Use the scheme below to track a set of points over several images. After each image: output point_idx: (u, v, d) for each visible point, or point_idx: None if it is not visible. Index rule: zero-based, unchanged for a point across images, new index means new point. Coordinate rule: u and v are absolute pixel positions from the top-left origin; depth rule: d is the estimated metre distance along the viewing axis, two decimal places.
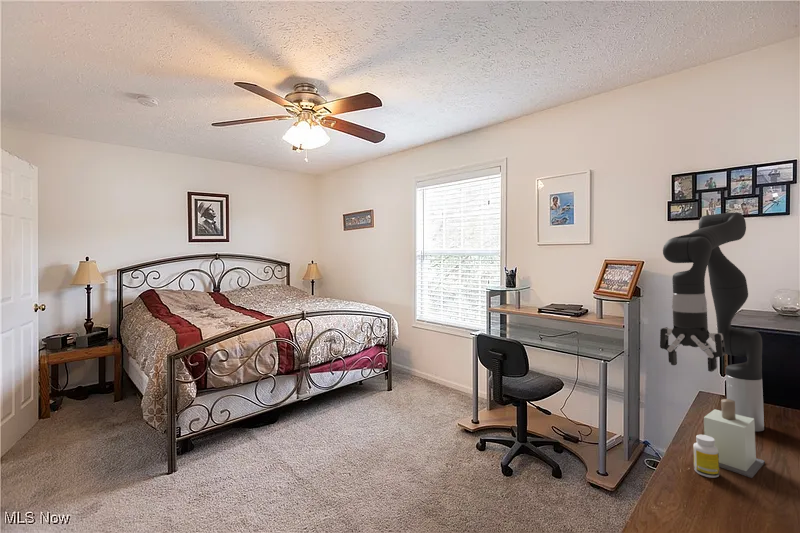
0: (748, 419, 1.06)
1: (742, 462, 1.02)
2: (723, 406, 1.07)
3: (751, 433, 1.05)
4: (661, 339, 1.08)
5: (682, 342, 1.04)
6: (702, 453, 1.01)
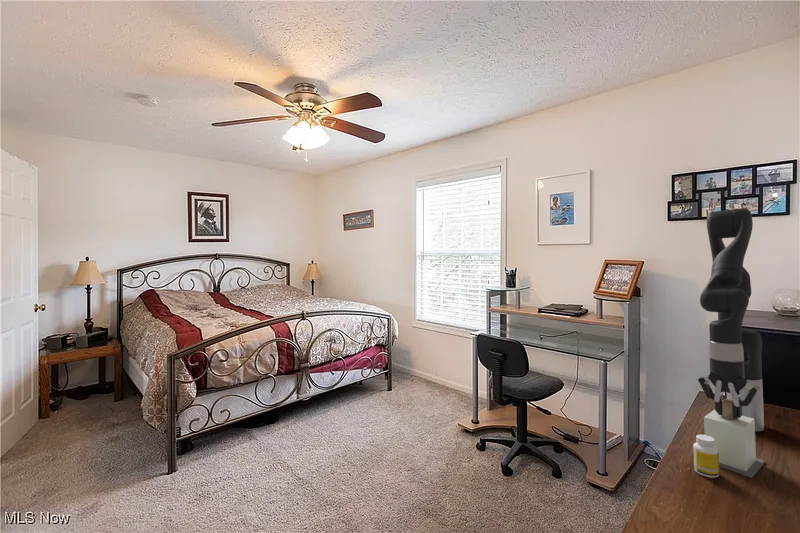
0: (748, 419, 1.06)
1: (742, 462, 1.02)
2: (723, 406, 1.07)
3: (751, 433, 1.05)
4: (704, 389, 1.11)
5: (723, 388, 1.07)
6: (702, 453, 1.01)
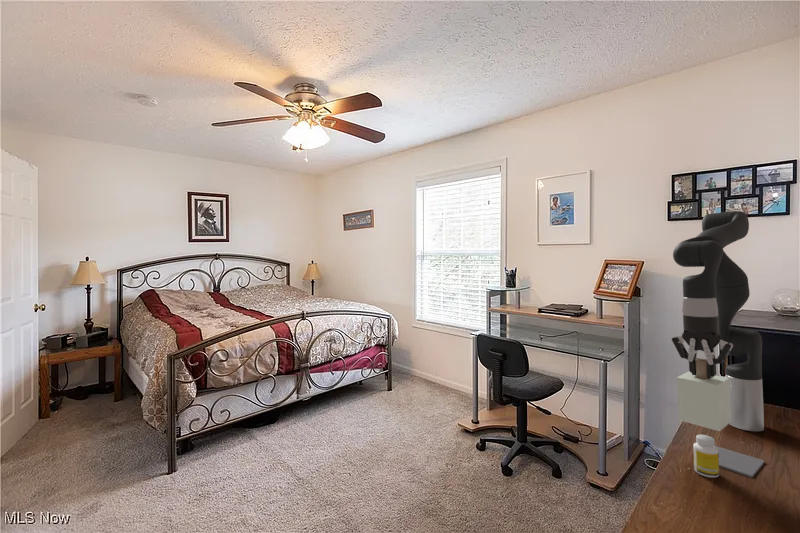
0: (723, 378, 1.01)
1: (715, 422, 0.97)
2: (697, 365, 1.02)
3: (726, 392, 1.00)
4: (677, 349, 1.06)
5: (697, 346, 1.02)
6: (702, 453, 1.01)
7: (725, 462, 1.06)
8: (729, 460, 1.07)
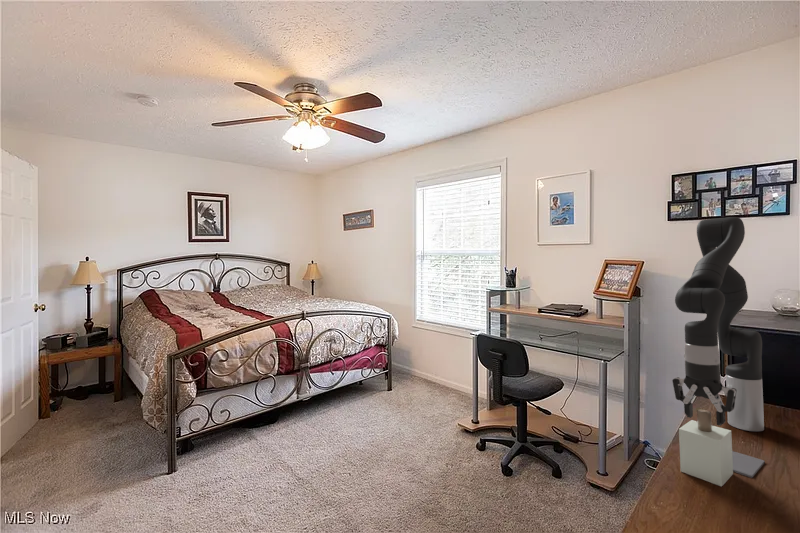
0: (725, 431, 1.01)
1: (717, 477, 0.97)
2: (699, 417, 1.02)
3: (727, 446, 1.00)
4: (675, 390, 1.07)
5: (696, 393, 1.03)
6: None
7: None
8: None
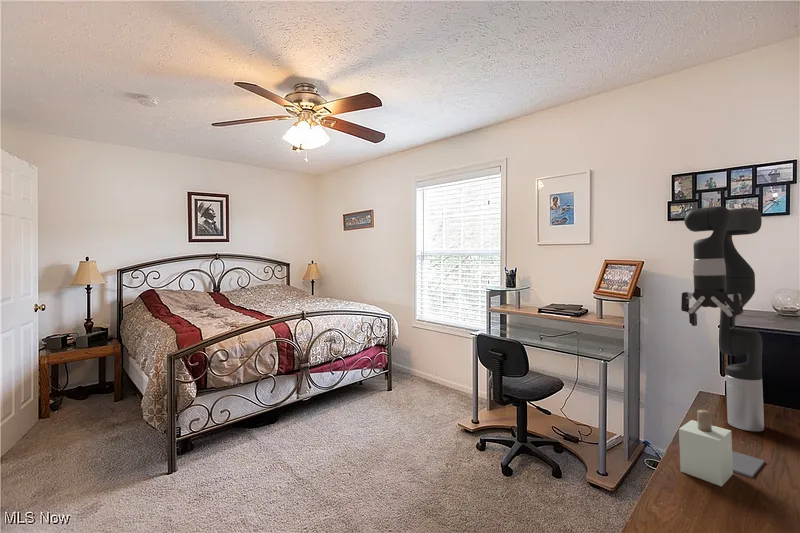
0: (725, 431, 1.01)
1: (717, 477, 0.97)
2: (699, 417, 1.02)
3: (727, 446, 1.00)
4: (682, 302, 1.17)
5: (702, 304, 1.13)
6: None
7: None
8: None
